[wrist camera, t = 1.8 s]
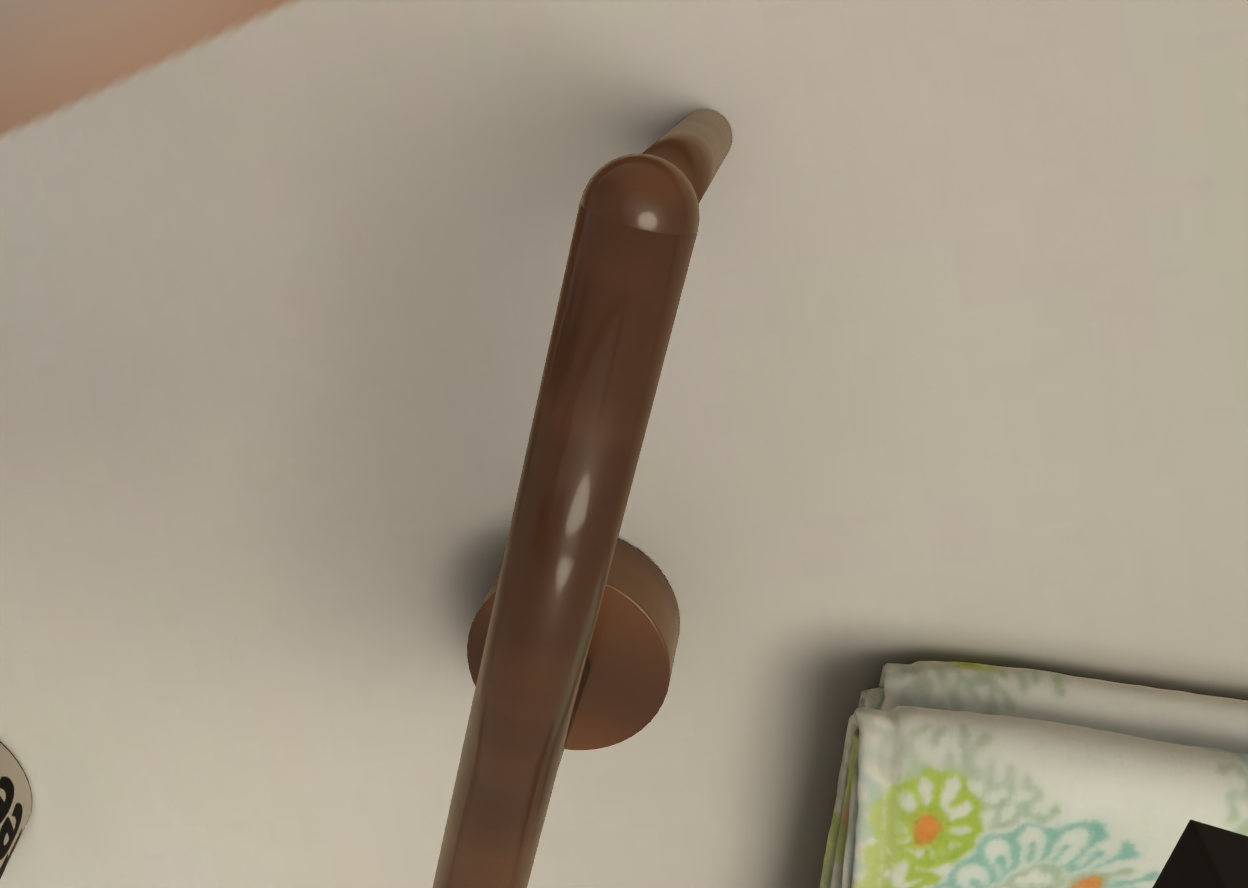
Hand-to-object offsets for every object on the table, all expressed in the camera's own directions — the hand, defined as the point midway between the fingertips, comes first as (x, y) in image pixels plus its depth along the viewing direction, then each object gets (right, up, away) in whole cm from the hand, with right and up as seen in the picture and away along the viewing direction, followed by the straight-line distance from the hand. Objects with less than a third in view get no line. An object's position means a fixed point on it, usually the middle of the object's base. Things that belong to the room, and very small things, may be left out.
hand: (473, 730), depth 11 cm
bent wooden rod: (+2, +3, +17) cm, 17 cm away
